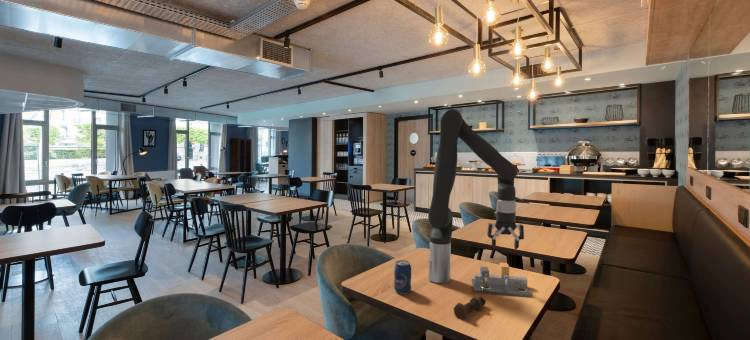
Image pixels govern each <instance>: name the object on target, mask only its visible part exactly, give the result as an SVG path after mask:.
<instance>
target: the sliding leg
mask: <svg viewBox="0 0 750 340" xmlns="http://www.w3.org/2000/svg"><path fill="white" fill-rule="evenodd" d="M498 273H499V274H498V275H500V276H501V278H505V279H506V281H505V286H506V287H507V279H509V276H510V266H509V264H508V263H507V262H499V270H498Z"/></svg>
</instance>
